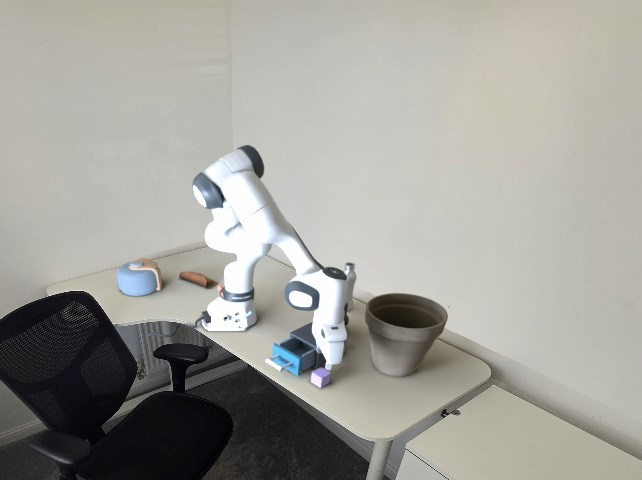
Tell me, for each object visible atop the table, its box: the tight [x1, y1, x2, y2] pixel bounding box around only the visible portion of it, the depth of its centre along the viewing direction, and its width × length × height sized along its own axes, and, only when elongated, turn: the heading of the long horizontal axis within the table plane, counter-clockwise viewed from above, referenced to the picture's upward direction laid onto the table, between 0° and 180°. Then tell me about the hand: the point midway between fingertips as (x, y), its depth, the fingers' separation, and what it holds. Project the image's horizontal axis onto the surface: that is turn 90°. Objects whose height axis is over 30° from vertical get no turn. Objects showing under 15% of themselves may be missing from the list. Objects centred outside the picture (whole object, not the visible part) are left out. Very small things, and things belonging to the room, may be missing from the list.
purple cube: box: [310, 367, 332, 389], centre depth 143 cm, size 4×4×4 cm
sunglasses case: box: [178, 270, 218, 289], centre depth 207 cm, size 18×7×7 cm, turn 52°
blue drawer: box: [265, 336, 317, 377], centre depth 149 cm, size 19×12×7 cm, turn 130°
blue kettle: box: [115, 257, 164, 297], centre depth 200 cm, size 19×20×12 cm
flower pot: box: [364, 292, 449, 378], centre depth 145 cm, size 25×25×22 cm
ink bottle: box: [344, 302, 350, 333], centre depth 166 cm, size 10×9×12 cm
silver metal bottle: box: [342, 261, 357, 312], centre depth 179 cm, size 6×7×20 cm
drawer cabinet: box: [289, 321, 347, 370], centre depth 155 cm, size 15×14×9 cm
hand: (323, 360), depth 139 cm, fingers open, 8 cm apart
